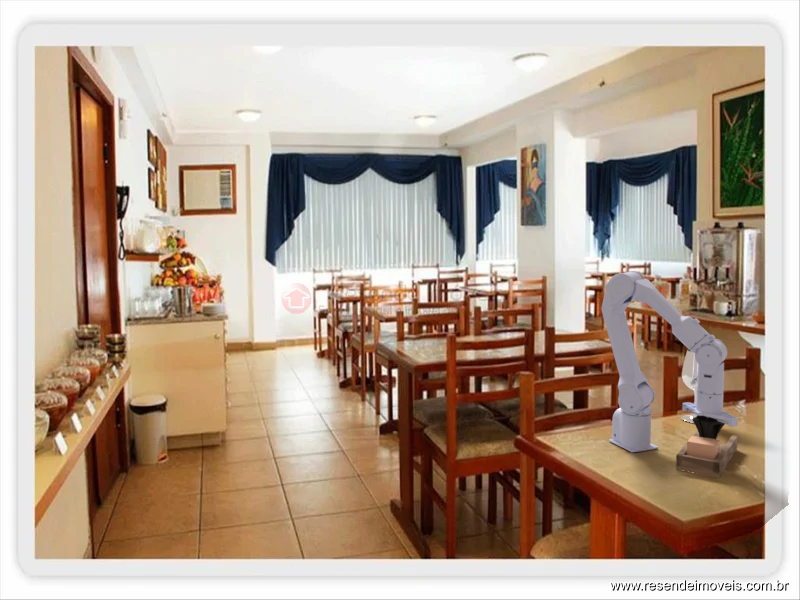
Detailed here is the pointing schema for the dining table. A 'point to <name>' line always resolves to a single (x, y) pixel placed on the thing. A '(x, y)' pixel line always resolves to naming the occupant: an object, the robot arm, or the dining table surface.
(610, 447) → the dining table surface
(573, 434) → the dining table surface
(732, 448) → the shallow wooden tray
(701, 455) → the block
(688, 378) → the wineglass
